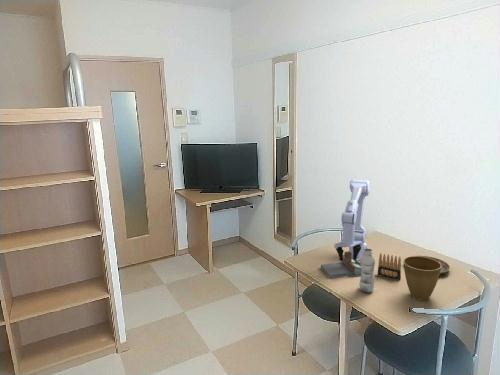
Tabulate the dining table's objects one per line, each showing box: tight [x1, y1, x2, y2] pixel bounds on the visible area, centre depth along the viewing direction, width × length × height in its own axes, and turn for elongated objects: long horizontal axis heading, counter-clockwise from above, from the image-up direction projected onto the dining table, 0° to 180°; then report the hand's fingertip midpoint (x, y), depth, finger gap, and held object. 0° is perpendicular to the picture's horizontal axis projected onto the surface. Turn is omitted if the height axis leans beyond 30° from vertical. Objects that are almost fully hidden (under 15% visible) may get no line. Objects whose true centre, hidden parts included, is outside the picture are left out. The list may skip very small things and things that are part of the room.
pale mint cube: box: [352, 263, 361, 270], centre depth 177 cm, size 4×4×3 cm
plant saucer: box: [421, 255, 451, 276], centre depth 178 cm, size 21×21×3 cm
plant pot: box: [403, 255, 442, 301], centre depth 152 cm, size 15×15×16 cm
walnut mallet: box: [341, 250, 355, 272], centre depth 179 cm, size 2×13×8 cm, turn 11°
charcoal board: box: [320, 261, 354, 279], centre depth 179 cm, size 12×12×2 cm
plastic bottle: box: [358, 248, 376, 293], centre depth 158 cm, size 6×7×20 cm
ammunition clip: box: [376, 252, 402, 281], centre depth 170 cm, size 11×2×12 cm, turn 56°
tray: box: [352, 258, 361, 277], centre depth 180 cm, size 6×14×4 cm, turn 11°
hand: (347, 259), depth 179 cm, fingers open, 7 cm apart
